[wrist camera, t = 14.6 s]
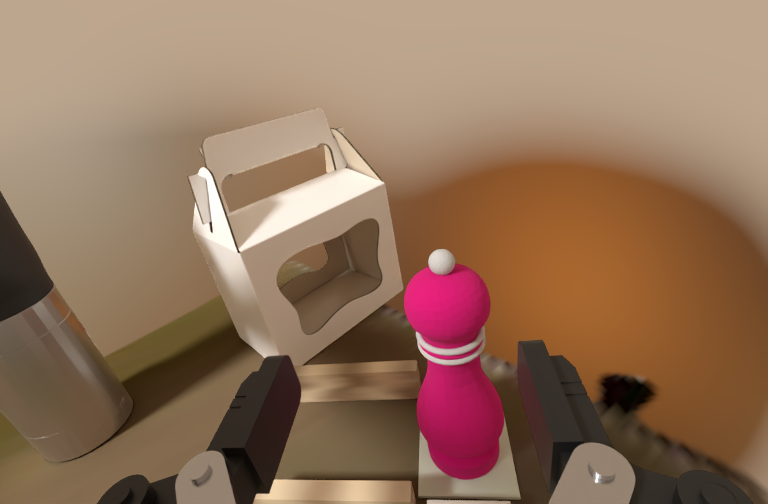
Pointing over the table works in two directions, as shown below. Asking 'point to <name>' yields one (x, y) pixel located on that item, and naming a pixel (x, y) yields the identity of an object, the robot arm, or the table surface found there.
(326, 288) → the gable box
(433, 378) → the pepper mill
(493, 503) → the box
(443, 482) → the sage pad
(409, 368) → the oak channel
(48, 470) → the table surface
